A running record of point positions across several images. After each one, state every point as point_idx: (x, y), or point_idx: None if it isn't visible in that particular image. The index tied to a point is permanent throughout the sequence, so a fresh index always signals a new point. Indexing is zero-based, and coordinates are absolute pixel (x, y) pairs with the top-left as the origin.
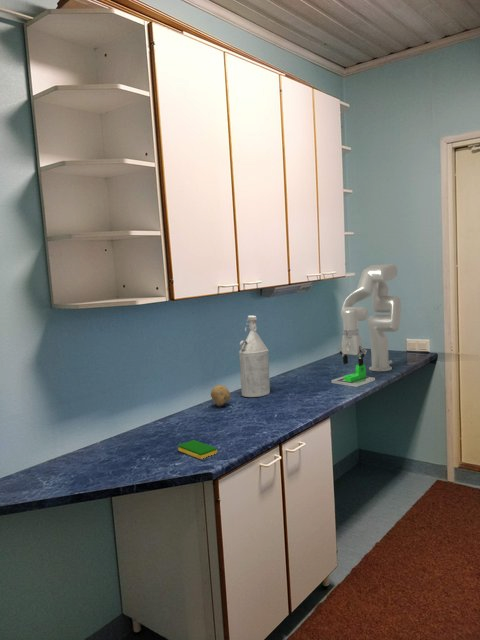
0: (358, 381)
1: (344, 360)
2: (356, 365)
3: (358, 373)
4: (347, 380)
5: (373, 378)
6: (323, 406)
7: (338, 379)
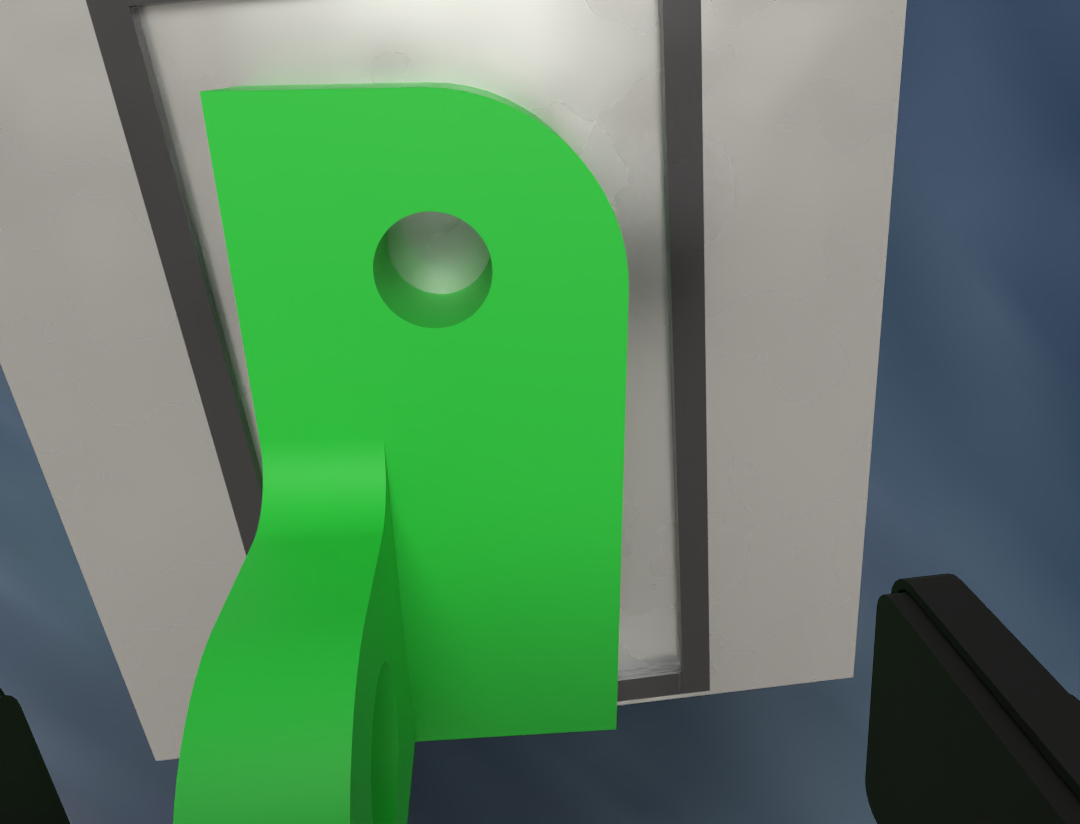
0: (99, 256)
1: (989, 734)
2: (347, 768)
3: (270, 540)
4: (378, 85)
5: (139, 710)
6: None
7: (769, 87)
